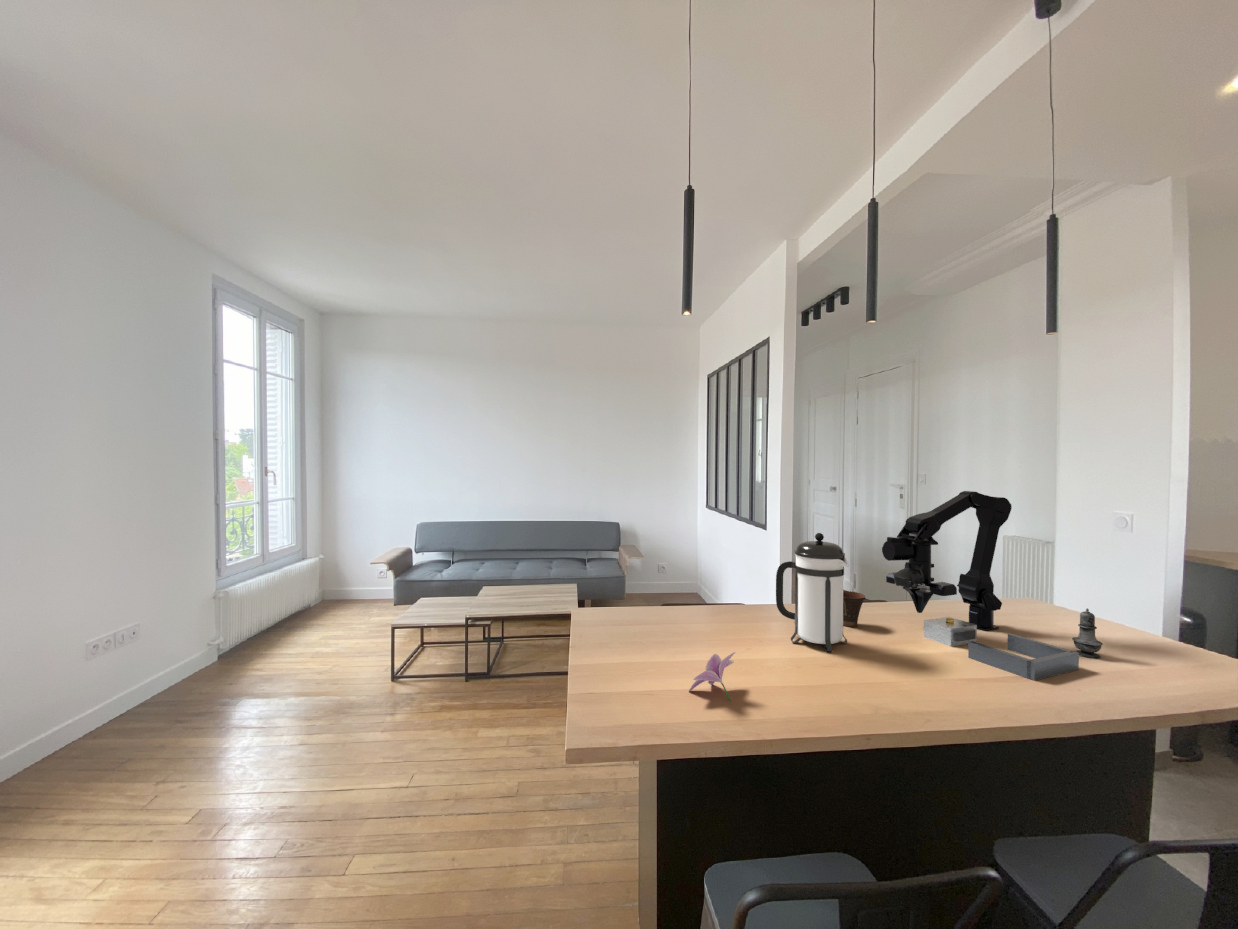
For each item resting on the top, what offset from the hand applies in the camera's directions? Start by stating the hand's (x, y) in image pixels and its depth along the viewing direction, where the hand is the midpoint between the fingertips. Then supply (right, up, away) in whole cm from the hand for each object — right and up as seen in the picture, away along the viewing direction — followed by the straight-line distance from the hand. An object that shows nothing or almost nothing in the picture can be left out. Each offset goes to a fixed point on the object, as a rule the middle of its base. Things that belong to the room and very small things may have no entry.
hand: (919, 612), depth 150 cm
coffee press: (-36, -5, -11) cm, 38 cm away
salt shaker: (+32, -5, -20) cm, 37 cm away
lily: (-68, -5, -43) cm, 81 cm away
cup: (-19, -5, +4) cm, 20 cm away
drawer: (+3, -5, -9) cm, 11 cm away
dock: (+10, -5, -25) cm, 27 cm away
